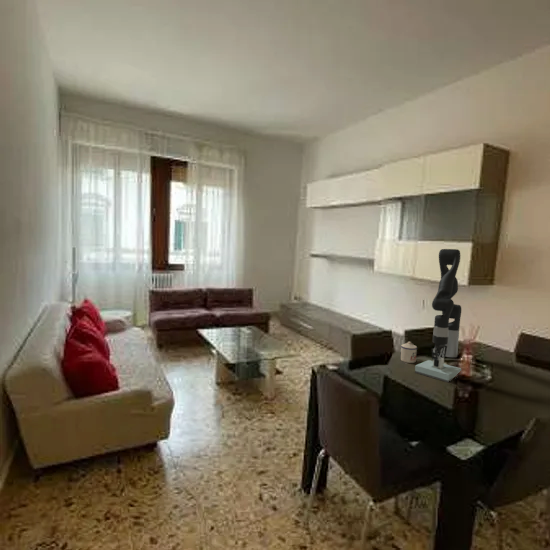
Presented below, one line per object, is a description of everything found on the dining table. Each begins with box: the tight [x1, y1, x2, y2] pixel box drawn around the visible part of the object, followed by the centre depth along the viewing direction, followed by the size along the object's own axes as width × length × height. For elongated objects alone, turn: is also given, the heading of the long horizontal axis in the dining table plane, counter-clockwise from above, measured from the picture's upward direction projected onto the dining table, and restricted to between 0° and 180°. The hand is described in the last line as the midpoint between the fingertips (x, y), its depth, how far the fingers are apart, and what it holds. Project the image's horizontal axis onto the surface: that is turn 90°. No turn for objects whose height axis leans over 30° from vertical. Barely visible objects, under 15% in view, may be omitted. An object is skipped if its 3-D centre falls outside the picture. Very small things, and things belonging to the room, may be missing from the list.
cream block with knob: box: [432, 357, 445, 370], centre depth 203 cm, size 4×4×9 cm
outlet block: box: [414, 359, 462, 383], centre depth 203 cm, size 16×18×4 cm
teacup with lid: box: [400, 341, 418, 364], centre depth 226 cm, size 12×9×12 cm
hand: (438, 365), depth 203 cm, fingers open, 4 cm apart
